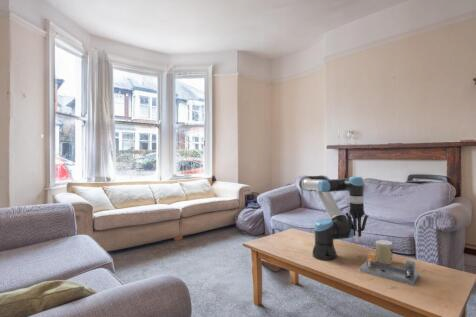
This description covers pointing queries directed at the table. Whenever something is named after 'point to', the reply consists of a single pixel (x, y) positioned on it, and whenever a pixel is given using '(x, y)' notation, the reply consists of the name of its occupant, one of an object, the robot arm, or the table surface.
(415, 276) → the plate
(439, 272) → the table surface
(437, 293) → the table surface
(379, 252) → the coffee cup
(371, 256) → the block
